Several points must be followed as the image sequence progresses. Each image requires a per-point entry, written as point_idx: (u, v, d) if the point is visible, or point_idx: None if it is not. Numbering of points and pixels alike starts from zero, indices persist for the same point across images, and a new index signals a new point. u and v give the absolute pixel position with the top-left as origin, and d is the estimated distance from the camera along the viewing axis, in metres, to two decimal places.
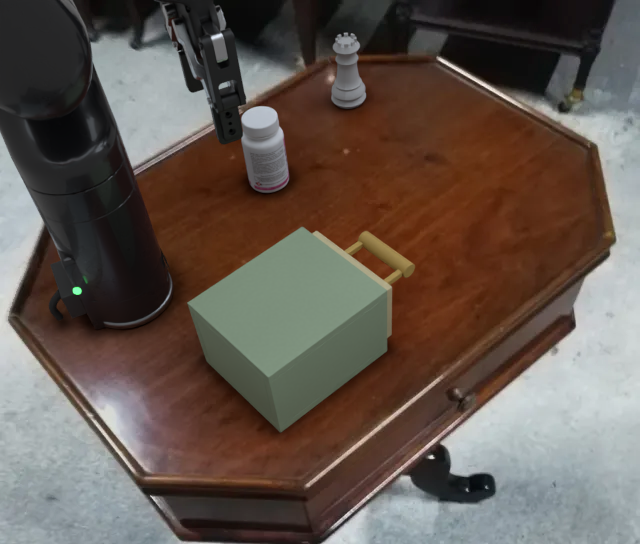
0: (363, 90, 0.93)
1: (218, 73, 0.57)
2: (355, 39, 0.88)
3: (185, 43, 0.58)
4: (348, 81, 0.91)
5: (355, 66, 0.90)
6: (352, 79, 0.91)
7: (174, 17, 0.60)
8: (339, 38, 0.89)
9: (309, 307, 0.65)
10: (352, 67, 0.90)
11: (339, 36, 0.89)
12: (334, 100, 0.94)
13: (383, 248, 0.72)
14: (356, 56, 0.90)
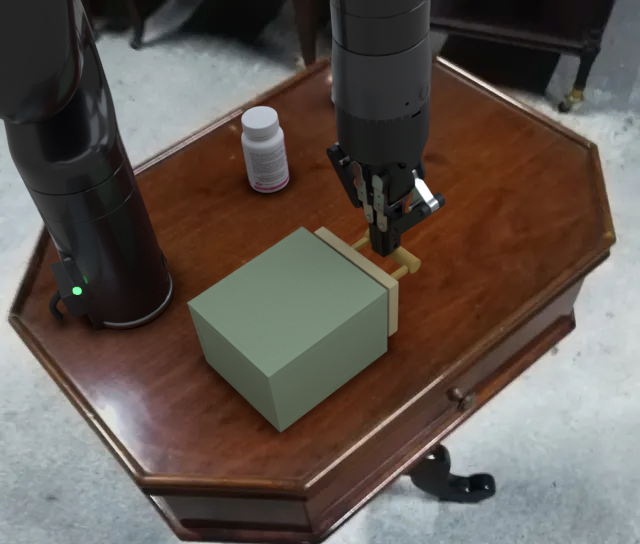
0: None
1: None
2: None
3: (384, 195, 0.63)
4: None
5: None
6: None
7: (365, 170, 0.64)
8: None
9: (309, 307, 0.65)
10: None
11: None
12: None
13: None
14: None
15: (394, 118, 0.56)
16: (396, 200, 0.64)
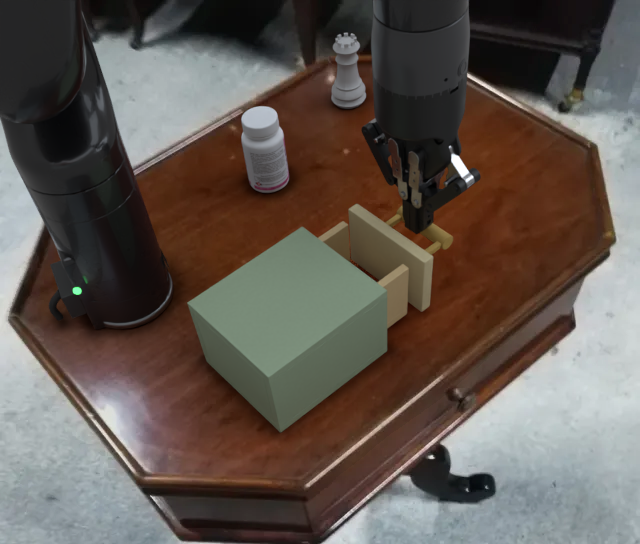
0: (363, 90, 0.93)
1: None
2: (355, 39, 0.88)
3: (419, 171, 0.65)
4: (348, 81, 0.91)
5: (355, 66, 0.90)
6: (352, 79, 0.91)
7: (401, 147, 0.65)
8: (339, 38, 0.89)
9: (309, 307, 0.65)
10: (352, 67, 0.90)
11: (339, 36, 0.89)
12: (334, 100, 0.94)
13: None
14: (356, 56, 0.90)
15: (433, 94, 0.57)
16: (431, 176, 0.65)
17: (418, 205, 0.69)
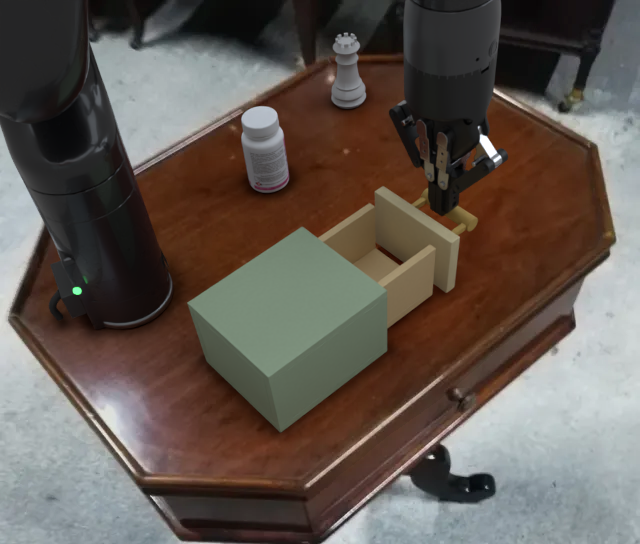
0: (363, 90, 0.93)
1: None
2: (355, 39, 0.88)
3: (447, 152, 0.66)
4: (348, 81, 0.91)
5: (355, 66, 0.90)
6: (352, 79, 0.91)
7: (429, 128, 0.66)
8: (339, 38, 0.89)
9: (309, 307, 0.65)
10: (352, 67, 0.90)
11: (339, 36, 0.89)
12: (334, 100, 0.94)
13: None
14: (356, 56, 0.90)
15: (464, 74, 0.58)
16: (459, 157, 0.66)
17: (444, 186, 0.70)
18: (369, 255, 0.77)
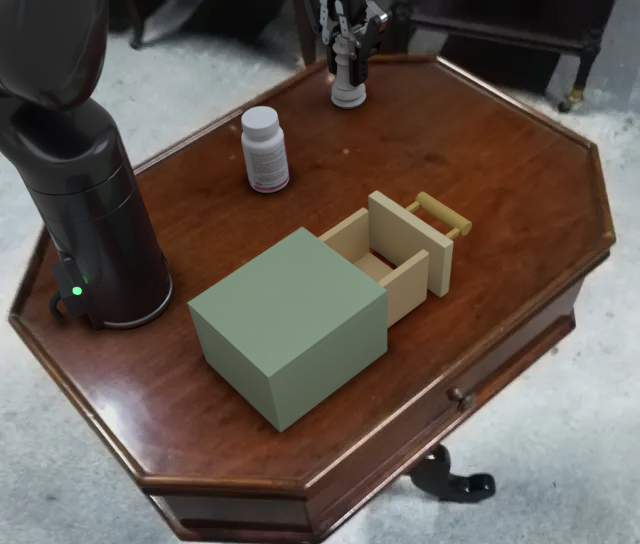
0: (363, 90, 0.93)
1: (376, 39, 0.83)
2: None
3: (346, 17, 0.83)
4: (348, 81, 0.91)
5: None
6: None
7: None
8: (339, 38, 0.89)
9: (309, 307, 0.65)
10: None
11: (339, 36, 0.89)
12: (334, 100, 0.94)
13: (440, 207, 0.74)
14: None
15: None
16: (353, 23, 0.84)
17: (354, 57, 0.87)
18: (363, 259, 0.77)
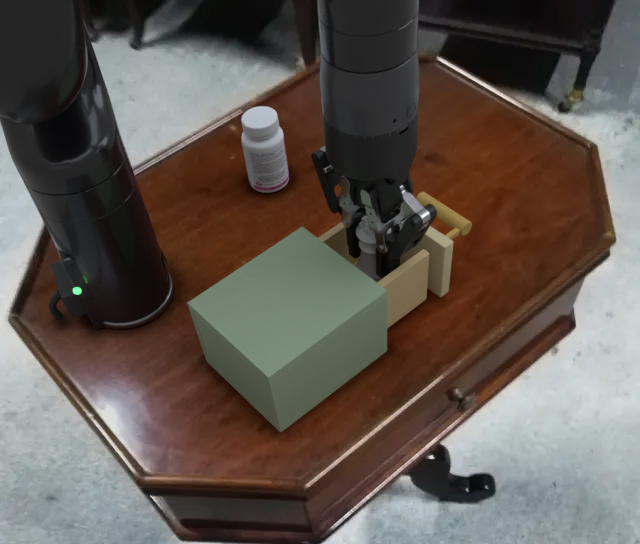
0: None
1: (414, 238, 0.63)
2: None
3: (374, 210, 0.63)
4: (375, 270, 0.71)
5: None
6: None
7: (353, 185, 0.64)
8: (364, 221, 0.69)
9: (309, 307, 0.65)
10: None
11: (364, 219, 0.68)
12: None
13: (441, 207, 0.74)
14: None
15: (382, 134, 0.56)
16: (384, 215, 0.64)
17: (383, 251, 0.67)
18: None
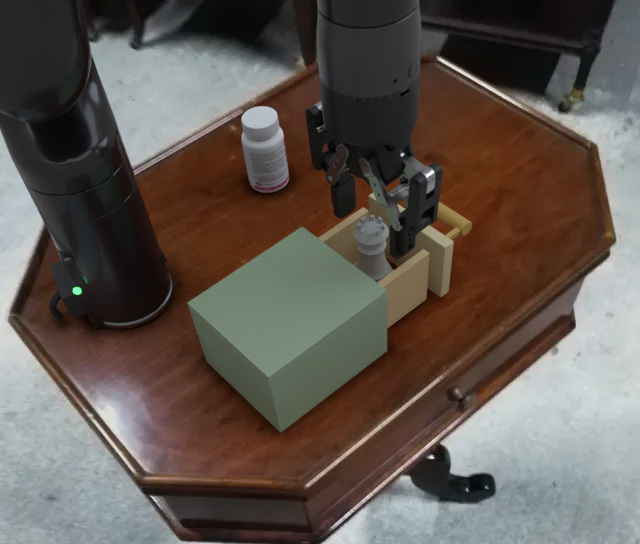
0: None
1: (424, 204, 0.59)
2: (383, 226, 0.68)
3: (377, 178, 0.60)
4: (371, 271, 0.71)
5: (381, 255, 0.70)
6: (377, 268, 0.71)
7: (352, 153, 0.61)
8: (363, 222, 0.69)
9: (309, 307, 0.65)
10: (377, 257, 0.70)
11: (363, 219, 0.69)
12: None
13: (441, 207, 0.74)
14: (383, 244, 0.70)
15: (381, 96, 0.53)
16: None
17: (398, 228, 0.63)
18: None
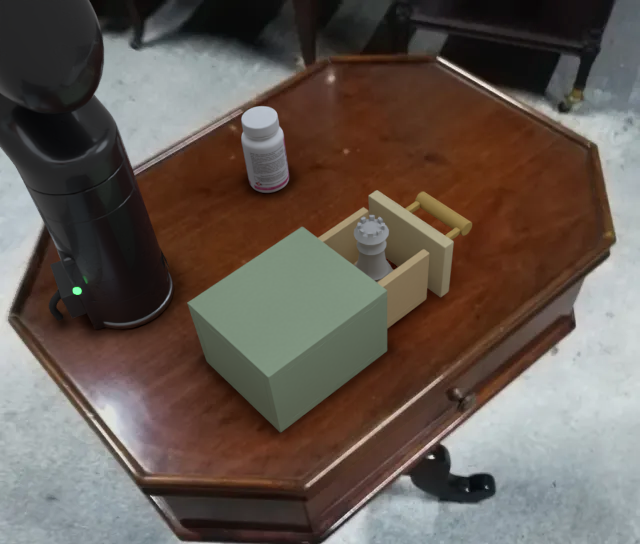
0: None
1: None
2: (383, 226, 0.68)
3: None
4: (371, 271, 0.71)
5: (381, 255, 0.70)
6: (377, 268, 0.71)
7: None
8: (363, 222, 0.69)
9: (309, 307, 0.65)
10: (377, 257, 0.70)
11: (363, 219, 0.69)
12: None
13: (441, 207, 0.74)
14: (383, 244, 0.70)
15: None
16: None
17: None
18: None
